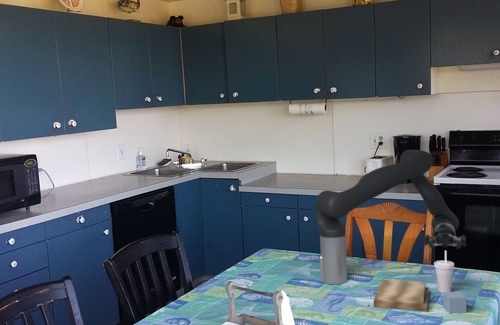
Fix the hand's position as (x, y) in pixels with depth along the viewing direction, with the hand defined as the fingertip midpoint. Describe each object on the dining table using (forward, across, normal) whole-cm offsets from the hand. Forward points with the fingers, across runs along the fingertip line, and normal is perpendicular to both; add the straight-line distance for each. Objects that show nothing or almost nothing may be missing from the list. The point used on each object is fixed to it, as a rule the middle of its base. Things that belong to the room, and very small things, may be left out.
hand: (444, 246), depth 185 cm
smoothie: (+12, 0, +12) cm, 17 cm away
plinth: (+22, -13, +12) cm, 29 cm away
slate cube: (+28, +3, +12) cm, 30 cm away
